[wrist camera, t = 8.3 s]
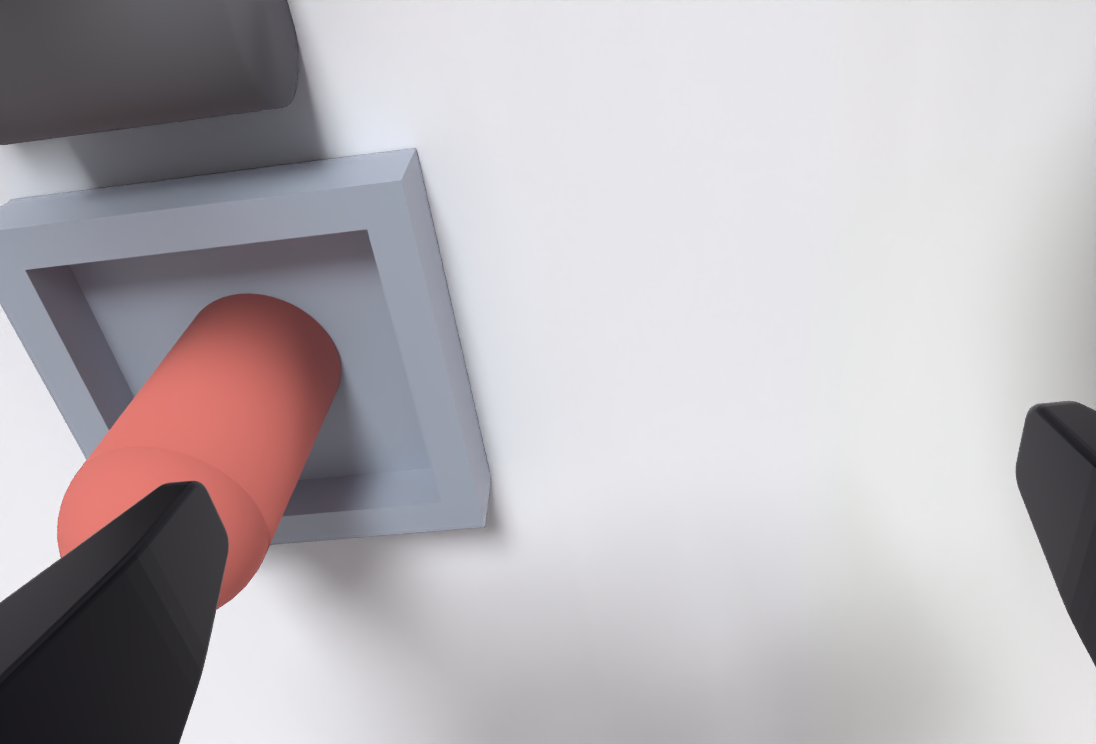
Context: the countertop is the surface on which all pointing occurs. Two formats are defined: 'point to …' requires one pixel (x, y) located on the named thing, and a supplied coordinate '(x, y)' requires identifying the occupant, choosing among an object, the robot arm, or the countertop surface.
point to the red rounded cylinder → (217, 427)
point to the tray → (278, 271)
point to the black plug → (139, 63)
